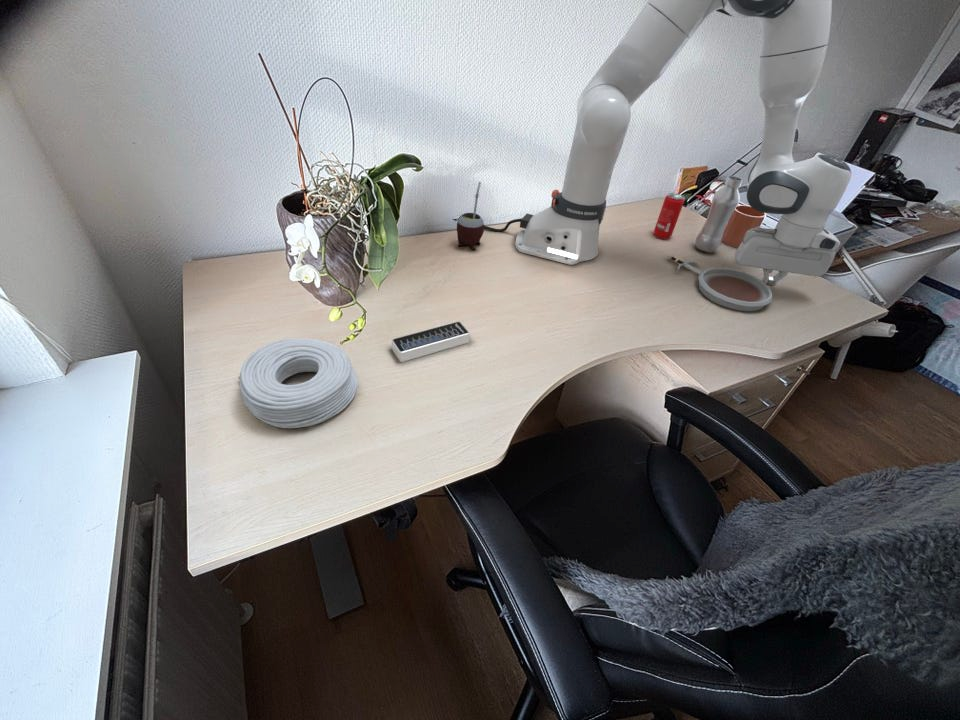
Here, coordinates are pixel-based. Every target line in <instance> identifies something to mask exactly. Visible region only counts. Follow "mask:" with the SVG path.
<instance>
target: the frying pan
mask: <svg viewBox="0 0 960 720" xmlns="http://www.w3.org/2000/svg"><path fill="white" fill-rule="evenodd" d="M667 259H668V261H674V262H675V263H678V265H677V269H676V272H679V271H680V268H682V267H685V268H687V269H688V270H690V271H691V272H694V273H695V274H697V275H698V278H697V279H698V288H699V291H700V292H701V293H702V294H703V295H704V297H706V298H707V299H709V300H710V301H711V302H712V303H715V304H718V305H720V306H722V307H724V308H728V309H730V310H735V311H741V312H756V311H759V310H762V309H763V308H764V307H765V306H767V305H769V304H770V303H771V302H772V301H773V291H772V289H771V287H770V286H767V285H766V284H765V283H764V282H763V281H762V279H760V278H758V277H756V276H755V275H752V274H750V273H747V272H745V271H741V270H737V269H734V268H728V267H711V268H707V269H705V270H703V271H702V270H700V269H698V268H696V267H694V266H695V265H698V264H699V261H697V260H696V261H695V260H688V261H685V262H684V261H683V260H680V259H679V258H677V257H675V256H674V254H673V253H670V254H668V255H667ZM692 265H694V266H692Z"/></svg>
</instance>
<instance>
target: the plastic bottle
mask: <svg viewBox="0 0 960 720" xmlns="http://www.w3.org/2000/svg"><path fill="white" fill-rule="evenodd" d="M742 183H743V178H741V177H739V176H737V175H728V176H727V178H726V179H725V181H724V186H722V187H721V188H719V189H718V190H717V191H716V192H715V193H714V194H713V196H712V199H711V204H710V208H709V211H708V215H707V217H706V220H705V222H704V224H703V226H702V228H701V230H700V231H699V232H698V234H697V235H696V238H695V247H696V248H697V249H698V250H700V251H702V252H705V253H714V252H716V251H717V250H719V248H720V247H721V246H722V245H721V244H722V236H723V233H724V230H725V227H726V225H727V223H728V221H729V219H730V217H731V215H732V213H733V211H734V210H735V208H736V207H737V205H739V203H740V199H741V197H740V192H739V189H740V188H741V185H742Z"/></svg>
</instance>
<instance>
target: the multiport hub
mask: <svg viewBox="0 0 960 720" xmlns="http://www.w3.org/2000/svg"><path fill="white" fill-rule="evenodd" d="M469 343H470V331H469V330H468V329H467V328H466V326H465V325H464V324H463V323H462V322H461V321H455V322H450V323H448V324H447V323H446V324H444V325H443V324H442V325H440V326H436V327H433V328H428V329H425V330H421V331H418V332H414V333H410V334H407V335H403V336H399V337H395V338H392V339H391V350H392V353H394V355H395V356H396V358H397V360H398V361H399V362H400V363H404V362H407V361H411V360H414V359H418V358H421V357H425V356H427V355H431V354H434V353H438V352H441V351H442V352H443V351H444V350H449V349H451V348H455V347H459V346H462V345H465V344H469Z"/></svg>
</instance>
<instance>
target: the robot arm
mask: <svg viewBox="0 0 960 720" xmlns="http://www.w3.org/2000/svg"><path fill="white" fill-rule="evenodd" d="M832 10H833V0H648V1H647V2H646V3H645V4H644V6H643V8H642V9H641V10H640V12H639V14H638V15H637V17H636V18H635V20H634V21H633V22H632V24H631V25H630V27H629V28H628V30H627V31H626V33H625V34H624V36H623V37H622V38H621V40H620V41H619V42H618V45H616V46H615V48H614V49H613V51H611V53H610V54H609V55H608V57H607V58H606V59H605V60H604V62H603V63H602V65H601V66H600V67H599V69H598V70H597V71H596V72H595V74H594V75H593V76H592V78H591V79H590V81H589V82H588V83H587V85H586V86H585V87H584V88H583V90H582V92H581V93H580V95H579V97H578V100H577V103H576V123H575V129H574V135H573V138H572V143H571V148H570V152H569V156H568V159H567V162H566V169H565V173H564V179H563V182H562V183H563V184H562V190H561V192H560V190H559V189H553V190H552V191H551V195H550V196H551V198H552V199H551V203H550V204H551V205H550V206H549V207H547V208H545V209H543V210H541V211H538V212H537V213H535V214H531V213H525V214H524V216H523V217H521V218H514V219H511V220H509V221H508V222H507V223H506V224H505V226H504V227H503V228H494V227H491V226H487V225H484V230H487V231H492V232H495V233H496V232H497V233H503V232H505V231H507V230H508V229H509V227H510V225H511V224H512V225H513V224H514V223H519V228H521V230H520V231H518V232H517V235H516V237H515V242H514V246H515V248H516V250H517V251H518V252H520V253H521V254H526V255H529V256H530V255H531V256H533V257H538V258H542V259H546V260H548V261H549V260H550V261H554V262H557V263H562V264H565V265H570V266H574V265H577V264H578V263H581V262H587V261H591V260H593V259H595V258H597V257H598V255H599V234H600V228H601V227H600V226H601V224H602V221H603V220H604V216H605V212H606V208H607V195H608V191H609V188H610V185H611V184H610V183H611V180H612V175H613V172H614V168H615V165H616V163H617V160H618V158H619V155H620V153H621V150H622V148H623V144H624V141H625V138H626V135H627V132H628V129H629V126H630V122H631V118H632V111H631V110H632V109H631V107H632V106H633V105H634V104H635V103H636V101H638V99H640V98H641V96H642V95H643V94H644V93H645V92H646V91H647V90H648V89H649V88H650V87H651V86H653V84H654V83H655V82H657V81H658V80H659V79H660V78H661V77H662V76H663V74H664V73H665V72H666V71H667V69H668V68H669V66H670V65H671V64H672V62H673V61H674V60H675V59H676V57H677V56H678V55H679V53H680V52H681V51H682V49H683V48H684V47H685V45H686V44H687V43H688V42H689V40H690V39H691V38H692V36H693V35H694V34H695V32H696V31H697V30H698V28H699V27H700V26H701V25H702V23H703V22H704V21H705V20H706V19H707V18H708V17H709V16H710V15H711V14H713V13H714V12H718V13H721V14H724V15H726V16H729V17H734V18H739V19H747V18H755V19H757V21H758V22H759V25H760V28H761V37H762V39H761V42H760V51H759V56H758V57H759V58H758V69H757V70H758V71H757V74H758V75H757V79H758V80H757V81H758V85H757V86H758V94H759V97H760V99H761V102H762V105H763V109H764V122H763V123H764V124H763V129H762V130H763V131H762V139H761V146H760V151H759V154H758V157H757V159H756V161H755V162H754V163H753V166H752V167H751V168H750V170H749V173H748V177H747V189H746V200H747V203H748V206H751V207H752V208H753V209H754V210H756V211H759V212H762V213H766V214H772V215H781V216H780V217H779V219H778V221H777V223H776V225H775V227H774V228H769V227H767V228H766V227H762V226H761V227H755V228H753V229H750V230H748V231H747V232H746V233H745V235H744V238H743V241H742V243H741V244H740V246H739V247H738V248H736V251H735V253H734V260H735V261H736V263H737V265H739V266H745V267H749V268H750V267H752V268H756V269H762V273H763V278H762V279H761V281H763V282H764V283H765V284H766V285H767V286H769V287H774V288H775V287H776V285H777V283H778V282H779V281H780V280H782V279H784V278H785V277H787V275H788V274H789V273H791V274H796V275H803V276H804V275H805V276H810V277H817V278H820V277H822V276H824V275H826V273H827V272H828V271H829V269H830V267H831V266H832V264H833V262H834V259H835V258H836V252H835V251H836V250H838V249H839V247H840V246H841V241H840V240H839V238H838V237H836V235H834V233H832V231H830V230H828V229H827V228H825V227H826V225H827V221H828V218H829V217H830V214H831V213H832V212H833V211H834V210H836V208H837V207H838V205H839V203H840V201H841V200H842V197H843V196H844V194H845V192H846V191H847V188H848V186H849V184H850V182H851V178H852V170H851V167H850V166H849V165H848V164H847V163H846V162H845V161H843V160H842V159H840V158H838V157H835V156H832V155H829V154H817V155H816V156H814V157H811V158H808V159H805V160H801V161H796V160H795V157H794V152H793V151H794V150H793V149H794V142H795V137H796V131H797V125H798V119H799V114H800V112H801V109H802V106H803V105H804V102H805V101H806V99H807V98H808V96H809V95H810V94H811V92H812V91H814V90H813V89H815V87H816V86H817V83H818V80H819V78H820V75H821V72H822V69H823V66H824V63H825V62H824V61H825V59H826V55H827V51H828V44H829V39H830V32H831V24H832V13H833V11H832ZM752 230H754V231H752ZM773 271H775V272H777V273H776V274H775V275H774V276H770V274H772V273H773Z"/></svg>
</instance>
